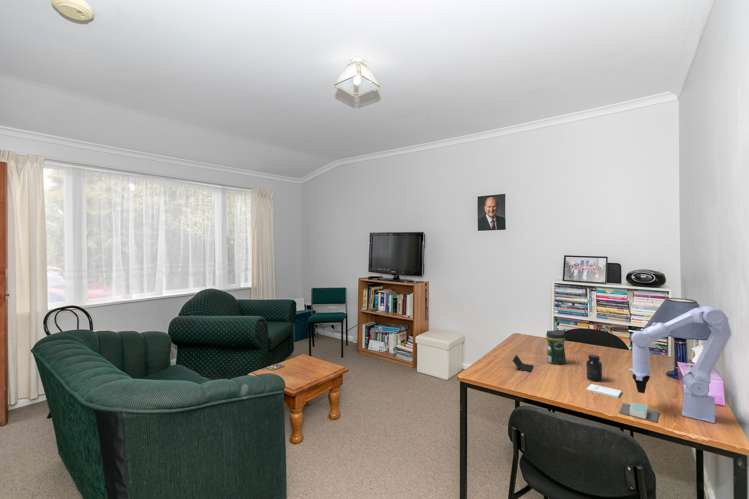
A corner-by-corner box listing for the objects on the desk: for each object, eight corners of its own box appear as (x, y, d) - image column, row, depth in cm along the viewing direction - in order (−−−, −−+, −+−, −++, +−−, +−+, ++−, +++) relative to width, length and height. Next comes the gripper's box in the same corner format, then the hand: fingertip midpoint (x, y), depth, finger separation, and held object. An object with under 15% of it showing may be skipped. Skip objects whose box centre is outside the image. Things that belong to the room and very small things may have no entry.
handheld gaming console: (534, 370, 190) (522, 353, 193) (523, 377, 191) (511, 360, 195) (534, 366, 200) (522, 350, 204) (523, 373, 202) (511, 357, 205)
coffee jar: (560, 360, 209) (560, 329, 209) (567, 364, 201) (567, 332, 201) (544, 360, 209) (544, 329, 209) (550, 365, 202) (550, 332, 201)
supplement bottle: (592, 376, 184) (592, 353, 184) (605, 380, 178) (605, 356, 178) (583, 378, 182) (583, 354, 181) (595, 382, 175) (595, 358, 175)
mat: (658, 412, 144) (658, 411, 144) (656, 422, 136) (656, 421, 136) (623, 403, 152) (623, 403, 152) (619, 413, 144) (619, 412, 144)
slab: (647, 405, 143) (645, 411, 138) (647, 412, 143) (645, 418, 138) (632, 402, 146) (629, 408, 141) (632, 408, 146) (629, 414, 141)
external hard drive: (618, 399, 157) (586, 391, 166) (622, 393, 163) (591, 386, 172) (618, 396, 157) (586, 388, 166) (622, 390, 163) (591, 383, 172)
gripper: (631, 354, 157) (631, 384, 157) (626, 362, 146) (627, 395, 147) (651, 357, 152) (652, 389, 153) (648, 366, 142) (648, 400, 142)
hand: (641, 392), depth 149 cm, fingers closed
